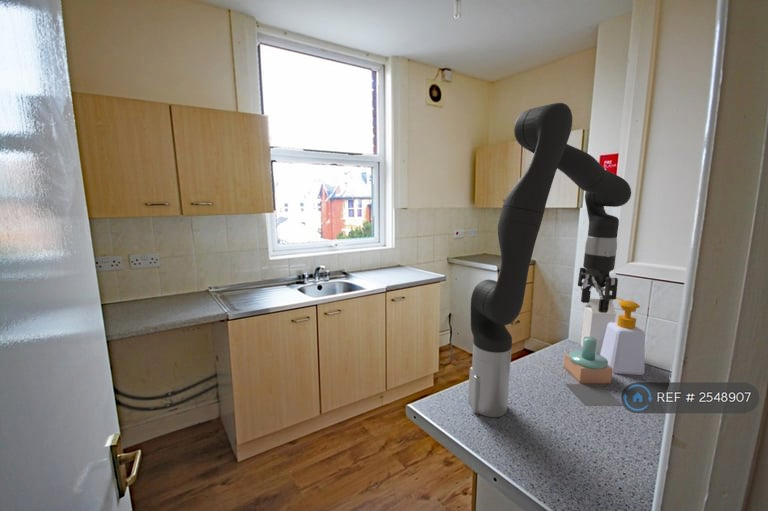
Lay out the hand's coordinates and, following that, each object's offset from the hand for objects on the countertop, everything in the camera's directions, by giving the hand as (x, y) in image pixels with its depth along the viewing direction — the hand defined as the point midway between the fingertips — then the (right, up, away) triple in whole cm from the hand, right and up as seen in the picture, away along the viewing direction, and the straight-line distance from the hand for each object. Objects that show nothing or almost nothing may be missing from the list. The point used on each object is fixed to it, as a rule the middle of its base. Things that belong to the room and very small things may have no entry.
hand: (593, 307), depth 99 cm
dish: (0, -22, +4) cm, 22 cm away
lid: (0, -17, +3) cm, 17 cm away
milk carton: (+13, -19, +21) cm, 31 cm away
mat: (-4, -23, -6) cm, 24 cm away
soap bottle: (+14, -21, +11) cm, 27 cm away
